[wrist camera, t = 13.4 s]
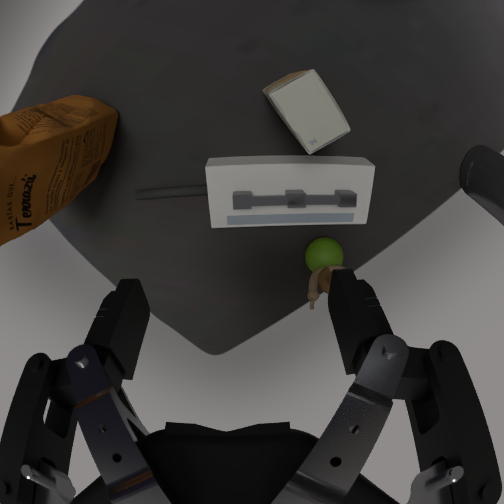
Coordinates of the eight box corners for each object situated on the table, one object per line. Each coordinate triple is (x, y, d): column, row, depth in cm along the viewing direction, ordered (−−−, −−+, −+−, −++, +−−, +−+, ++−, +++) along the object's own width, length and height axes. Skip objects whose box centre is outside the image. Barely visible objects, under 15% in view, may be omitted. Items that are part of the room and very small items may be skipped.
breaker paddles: (350, 189, 33) (357, 193, 31) (349, 202, 34) (356, 207, 32) (233, 191, 33) (232, 195, 31) (234, 204, 34) (233, 209, 32)
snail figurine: (294, 232, 41) (310, 289, 31) (338, 228, 40) (365, 282, 31) (296, 263, 44) (309, 322, 34) (336, 258, 44) (359, 315, 34)
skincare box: (319, 113, 31) (354, 134, 21) (289, 131, 33) (310, 159, 23) (291, 69, 28) (315, 66, 18) (259, 88, 30) (267, 93, 19)
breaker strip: (364, 157, 34) (375, 166, 31) (357, 211, 39) (366, 224, 36) (129, 166, 34) (119, 176, 31) (140, 219, 39) (132, 232, 36)
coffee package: (46, 163, 33) (-57, 247, 15) (72, 84, 27) (-60, 126, 9) (97, 191, 36) (7, 297, 18) (130, 112, 30) (11, 173, 12)
